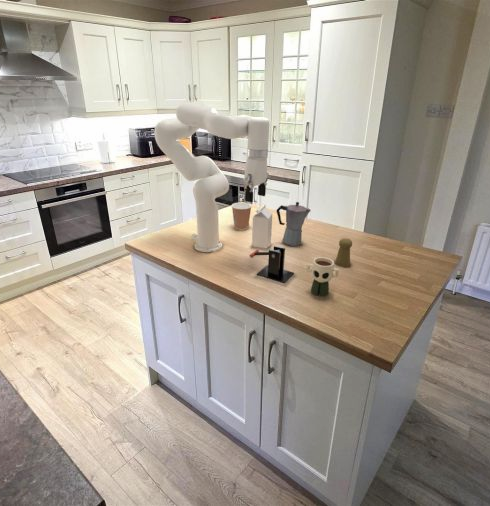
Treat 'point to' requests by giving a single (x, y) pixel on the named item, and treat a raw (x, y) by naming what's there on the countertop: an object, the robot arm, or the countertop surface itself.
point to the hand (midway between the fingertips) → (255, 198)
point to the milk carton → (262, 228)
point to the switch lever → (262, 253)
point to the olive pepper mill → (344, 253)
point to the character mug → (322, 275)
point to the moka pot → (293, 223)
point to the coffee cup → (241, 215)
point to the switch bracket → (276, 266)
